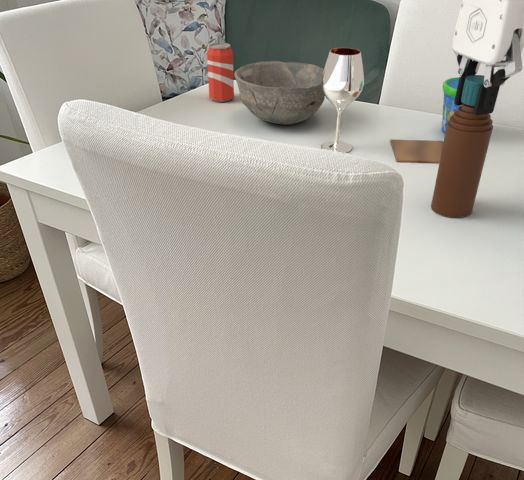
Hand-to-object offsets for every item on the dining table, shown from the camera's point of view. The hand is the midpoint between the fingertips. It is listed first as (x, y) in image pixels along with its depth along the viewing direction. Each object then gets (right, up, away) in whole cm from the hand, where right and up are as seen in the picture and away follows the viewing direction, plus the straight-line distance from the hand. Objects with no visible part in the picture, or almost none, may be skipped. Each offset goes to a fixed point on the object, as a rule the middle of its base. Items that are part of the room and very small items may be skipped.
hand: (473, 107), depth 86 cm
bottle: (0, -13, +11) cm, 16 cm away
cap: (0, +1, -1) cm, 1 cm away
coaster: (0, +4, +30) cm, 30 cm away
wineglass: (-17, +5, +31) cm, 36 cm away
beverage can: (-42, +25, +55) cm, 74 cm away
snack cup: (+11, +10, +38) cm, 41 cm away
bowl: (-28, +16, +44) cm, 54 cm away
